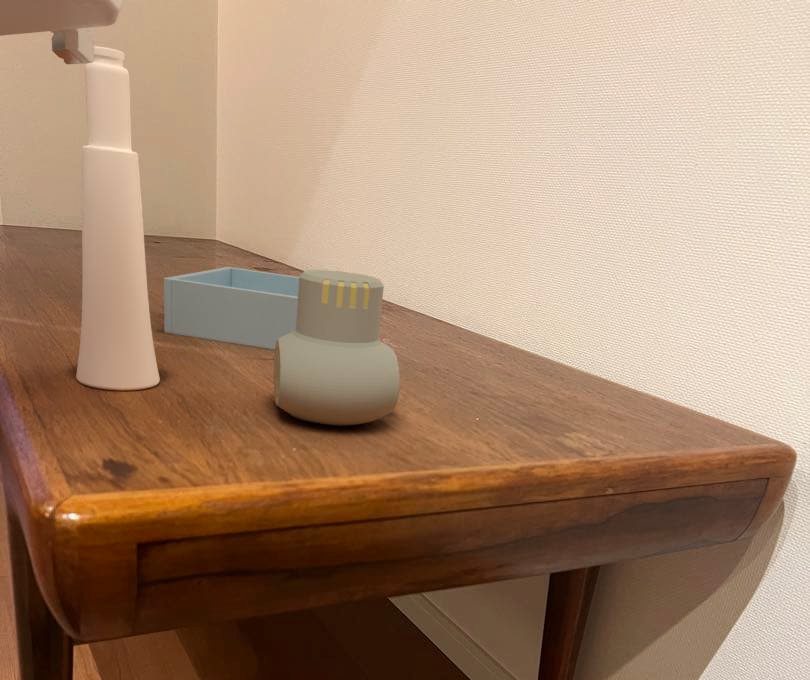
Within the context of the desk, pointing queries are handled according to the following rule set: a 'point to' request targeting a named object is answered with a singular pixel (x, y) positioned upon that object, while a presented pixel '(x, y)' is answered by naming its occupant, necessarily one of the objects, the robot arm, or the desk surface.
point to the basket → (232, 305)
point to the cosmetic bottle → (113, 239)
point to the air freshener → (336, 353)
